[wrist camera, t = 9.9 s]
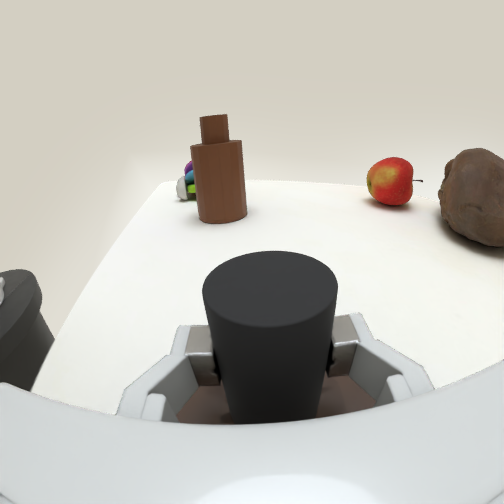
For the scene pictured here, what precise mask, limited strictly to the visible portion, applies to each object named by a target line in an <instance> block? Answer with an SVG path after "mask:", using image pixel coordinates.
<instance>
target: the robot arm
mask: <svg viewBox="0 0 504 504" xmlns="http://www.w3.org/2000/svg"><path fill="white" fill-rule="evenodd" d="M4 285H5V281H4V279H3V278H2V277H0V305H1V303H2V301H3V299H4V291H3V287H4ZM326 373H327V377H328V378H331V377H339V376H346V375H349V377H350V378H351V379H352V380H353V381H355V382H356V383H357V384H358V385H359V386H360V387H361V388H362V389H363V390H364V391H366V392H367V393H368V394H369V395H370V396H371V397H372V398H373V399H374V400H376V403H375V405H374V407H373V408H370V409H365V410H361V411H356V412H351V413H346V414H341V415H335V416H329V417H323V418H316V419H309V420H301V421H291V422H280V423H267V424H244V425H209V424H187V423H180V422H179V420H178V419H177V417H176V415H177V413H178V412H179V411H180V410H181V409H182V407H183V406H184V405H185V404H186V403H187V401H188V400H189V399H190V398H191V397H192V395H193V394H194V393H195V392H196V391H197V389H198V388H199V387H198V386H221V375H220V371H219V367H218V363H217V359H216V355H215V351H214V346H213V342H212V338H211V333H210V329H209V325H192V326H191V325H179V327H178V328H177V331H176V334H175V338H174V341H173V345H172V349H171V352H170V355H166V356H164V357H163V358H162V359H161V360H160V361H158V362H157V363H156V364H155V365H154V366H152V367H151V368H150V369H149V370H148V371H146V372H145V373H144V374H143V375H142V376H140V377H139V378H138V379H137V380H135V381H134V382H133V383H132V384H131V385H129V386H128V387H127V388H126V389H125V390H124V393H123V395H122V398H121V401H120V404H119V407H118V410H117V413H116V415H113V414H108V413H103V412H98V411H94V410H89V409H85V408H81V407H77V406H73V405H69V404H66V403H62V402H59V401H55V400H52V399H49V398H46V397H43V396H40V395H37V394H34V393H31V392H28V391H25V390H23V389H20V388H18V387H15V386H13V385H11V384H8V383H0V504H504V359H503V360H501V361H499V362H497V363H496V364H494V365H492V366H489V367H487V368H485V369H483V370H481V371H479V372H477V373H475V374H472V375H470V376H468V377H465V378H463V379H461V380H458V381H456V382H453V383H451V384H448V385H446V386H443V387H440V388H438V389H434V387H433V385H432V383H431V381H430V379H429V377H428V375H427V373H426V371H425V369H424V368H423V366H421V365H419V364H418V363H416V362H414V361H413V360H411V359H409V358H408V357H406V356H404V355H403V354H401V353H400V352H398V351H396V350H395V349H393V348H391V347H390V346H388V345H386V344H385V343H383V342H381V341H380V340H374V338H373V336H372V334H371V332H370V330H369V328H368V326H367V324H366V322H365V320H364V318H363V316H362V314H361V313H353V314H348V315H340V316H334V322H333V329H332V336H331V342H330V348H329V354H328V360H327V365H326Z"/></svg>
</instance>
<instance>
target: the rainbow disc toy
mask: <svg viewBox="0 0 504 504" xmlns="http://www.w3.org/2000/svg"><path fill="white" fill-rule="evenodd" d="M176 190H177V195H178V197H179V198H181V199H183V200H187V199H188V196H187V194H188V192H189V193H196V191H195V183H194V175H193V167H192V161H190V162H189V163H188V164H187V165H186V167H185V176H182V177H181V178H180V179H179V180H178V182H177V186H176Z"/></svg>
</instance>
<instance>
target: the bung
mask: <svg viewBox="0 0 504 504" xmlns="http://www.w3.org/2000/svg"><path fill="white" fill-rule="evenodd" d="M337 291H338V283H337V280H336V277H335V275H334V273H333V272H332V271H331V270H330V268H329V267H327V266H326V265H325V264H323V263H322V262H320V261H318V260H316V259H314V258H312V257H309V256H306V255H303V254H299V253H294V252H287V251H262V252H255V253H249V254H245V255H241V256H238V257H235V258H232V259H230V260H228V261H226V262H224V263H222V264H220V265H219V266H218V267H216V268H215V269H214V270H213V271H211V272H210V274H209V275H208V276H207V278H206V279H205V281H204V284H203V288H202V295H203V300H204V305H205V310H206V315H207V319H208V324H209V329H210V333H211V338H212V342H213V346H214V351H215V355H216V359H217V363H218V367H219V371H220V375H221V379H222V383H223V387H224V391H225V395H226V399H227V402H228V406H229V410H230V413H231V417H232V419H233V422H234V424H235V425H244V424H267V423H280V422H291V421H301V420H309V419H315V417H316V414H317V409H318V405H319V400H320V396H321V391H322V386H323V381H324V376H325V371H326V365H327V360H328V354H329V348H330V342H331V336H332V329H333V322H334V315H335V308H336V300H337Z"/></svg>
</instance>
